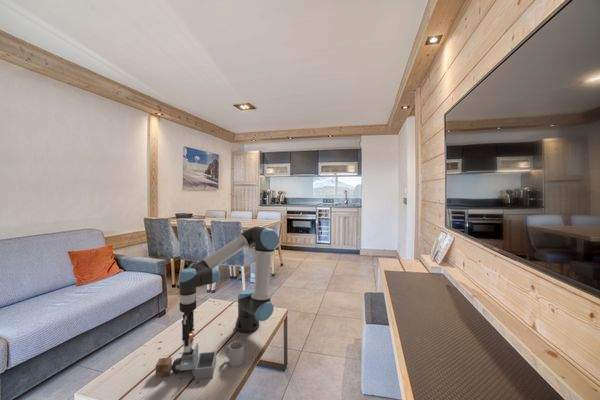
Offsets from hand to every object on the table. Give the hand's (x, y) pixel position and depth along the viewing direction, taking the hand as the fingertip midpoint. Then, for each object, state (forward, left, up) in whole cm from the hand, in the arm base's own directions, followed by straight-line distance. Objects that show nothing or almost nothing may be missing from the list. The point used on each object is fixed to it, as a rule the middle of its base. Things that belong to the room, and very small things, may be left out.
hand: (188, 348), depth 126 cm
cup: (-22, -1, -10) cm, 24 cm away
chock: (+11, +2, -10) cm, 15 cm away
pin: (0, 0, -4) cm, 4 cm away
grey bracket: (+2, +1, -10) cm, 10 cm away
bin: (-9, +3, -10) cm, 14 cm away
